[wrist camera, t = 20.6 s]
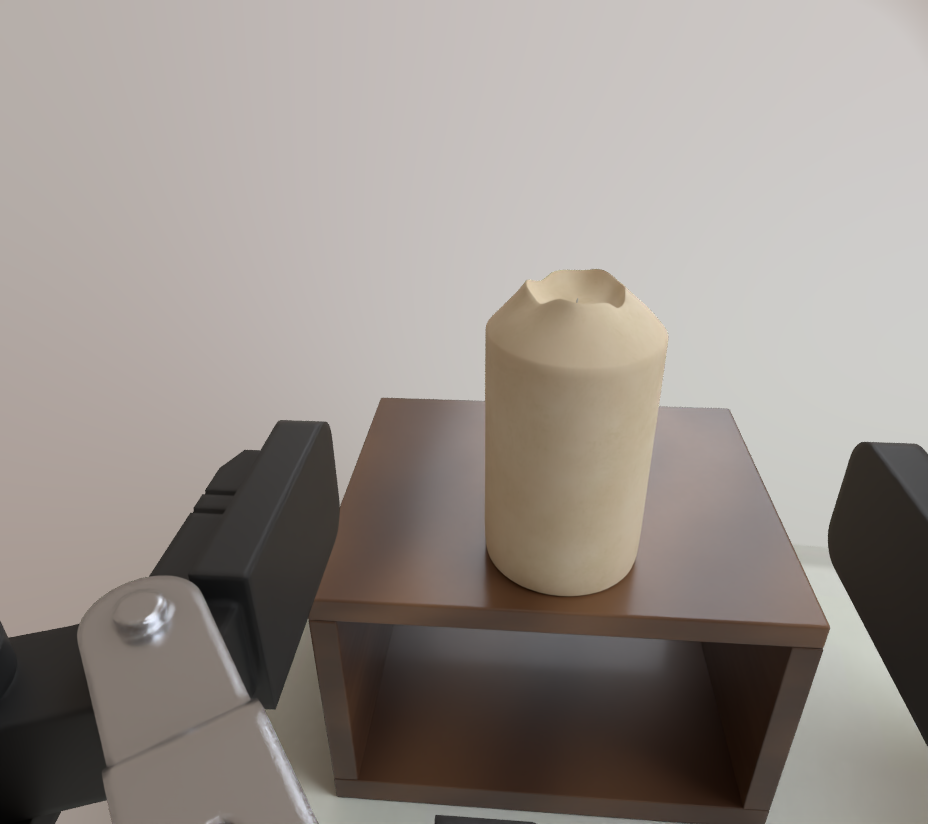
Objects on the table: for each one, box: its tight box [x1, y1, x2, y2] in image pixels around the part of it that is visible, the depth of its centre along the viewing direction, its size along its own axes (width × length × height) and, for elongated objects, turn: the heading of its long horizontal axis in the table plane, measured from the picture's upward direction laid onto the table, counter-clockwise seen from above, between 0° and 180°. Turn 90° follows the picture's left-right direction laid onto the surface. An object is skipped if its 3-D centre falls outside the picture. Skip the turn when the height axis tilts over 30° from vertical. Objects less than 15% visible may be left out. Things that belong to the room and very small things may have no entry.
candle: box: [485, 269, 668, 596], centre depth 24 cm, size 6×6×10 cm
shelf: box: [308, 398, 830, 824], centre depth 32 cm, size 17×14×11 cm
